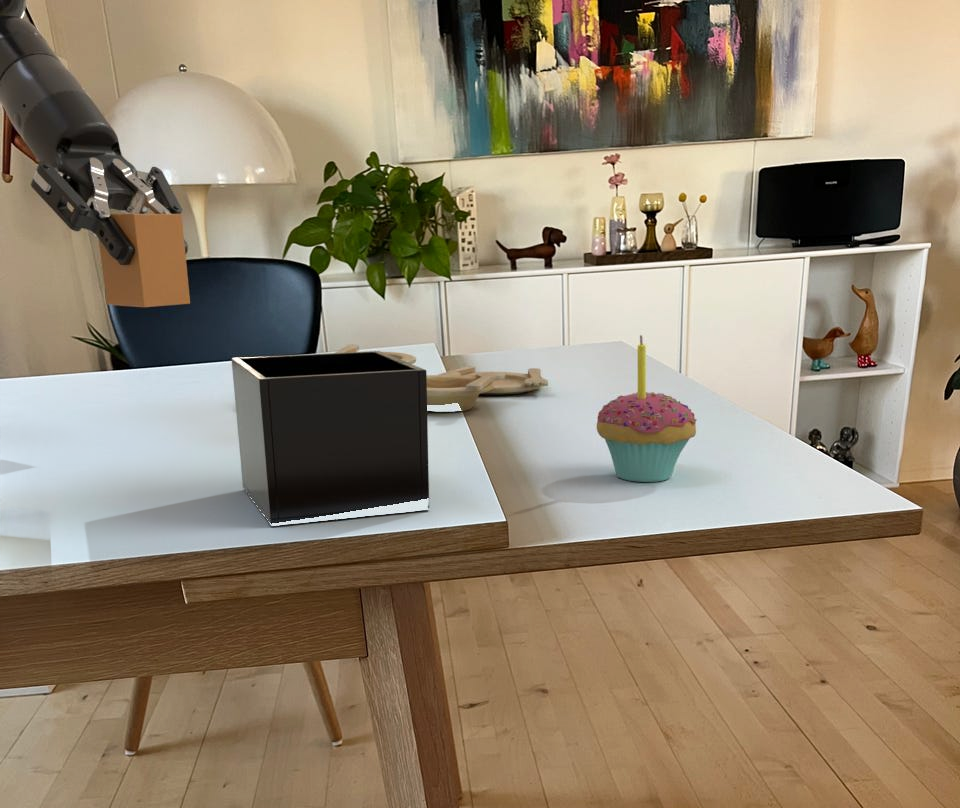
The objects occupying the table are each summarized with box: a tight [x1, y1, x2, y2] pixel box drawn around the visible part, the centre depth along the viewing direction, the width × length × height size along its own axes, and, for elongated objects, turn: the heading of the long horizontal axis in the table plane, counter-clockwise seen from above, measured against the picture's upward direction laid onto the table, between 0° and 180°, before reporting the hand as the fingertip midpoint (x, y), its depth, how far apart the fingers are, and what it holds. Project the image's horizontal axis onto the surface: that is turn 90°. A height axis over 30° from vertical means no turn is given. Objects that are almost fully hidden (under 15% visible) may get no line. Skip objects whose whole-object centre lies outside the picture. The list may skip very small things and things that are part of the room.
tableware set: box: [334, 343, 549, 413], centre depth 130 cm, size 35×29×4 cm
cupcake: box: [596, 334, 698, 483], centre depth 88 cm, size 9×8×12 cm
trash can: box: [230, 350, 430, 524], centre depth 81 cm, size 12×12×11 cm
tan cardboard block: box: [97, 213, 191, 308], centre depth 98 cm, size 6×6×8 cm
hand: (156, 257), depth 97 cm, fingers closed on tan cardboard block, 5 cm apart
